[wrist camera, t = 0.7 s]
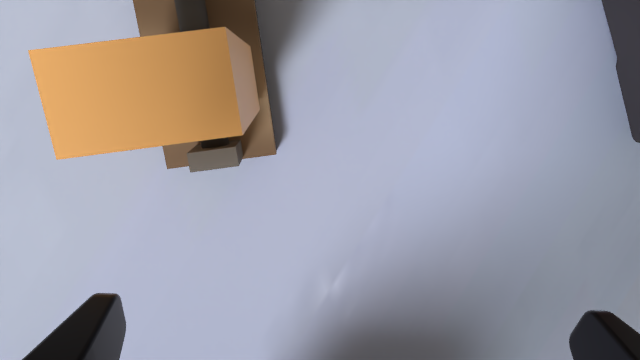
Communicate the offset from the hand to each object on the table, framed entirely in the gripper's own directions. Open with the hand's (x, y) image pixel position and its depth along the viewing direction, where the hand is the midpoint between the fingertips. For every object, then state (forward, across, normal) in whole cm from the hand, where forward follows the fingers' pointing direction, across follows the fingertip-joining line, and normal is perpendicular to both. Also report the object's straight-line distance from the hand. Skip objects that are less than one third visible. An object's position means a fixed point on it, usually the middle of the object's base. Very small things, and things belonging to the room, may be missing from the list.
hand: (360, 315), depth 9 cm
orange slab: (+13, +5, +1) cm, 14 cm away
